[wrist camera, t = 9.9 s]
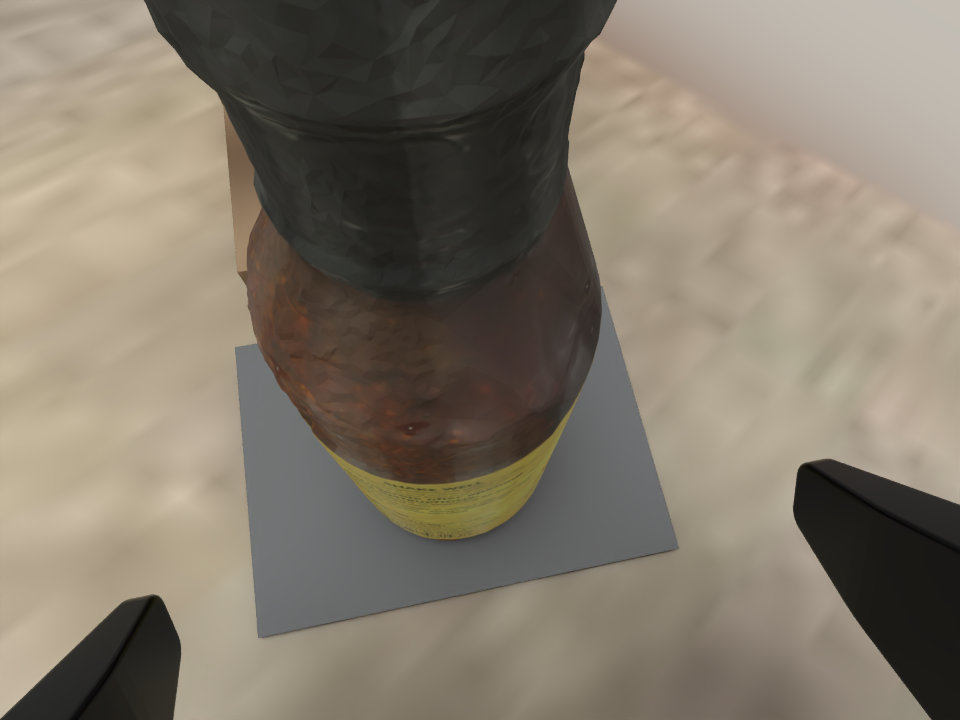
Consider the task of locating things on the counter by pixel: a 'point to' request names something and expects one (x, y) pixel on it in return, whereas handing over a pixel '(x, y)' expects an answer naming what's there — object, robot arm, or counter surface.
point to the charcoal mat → (424, 561)
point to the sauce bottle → (413, 233)
